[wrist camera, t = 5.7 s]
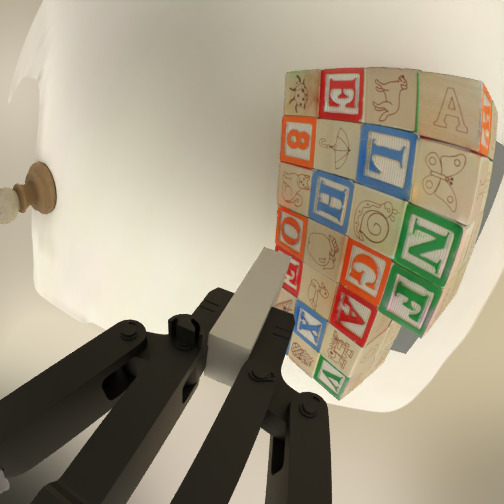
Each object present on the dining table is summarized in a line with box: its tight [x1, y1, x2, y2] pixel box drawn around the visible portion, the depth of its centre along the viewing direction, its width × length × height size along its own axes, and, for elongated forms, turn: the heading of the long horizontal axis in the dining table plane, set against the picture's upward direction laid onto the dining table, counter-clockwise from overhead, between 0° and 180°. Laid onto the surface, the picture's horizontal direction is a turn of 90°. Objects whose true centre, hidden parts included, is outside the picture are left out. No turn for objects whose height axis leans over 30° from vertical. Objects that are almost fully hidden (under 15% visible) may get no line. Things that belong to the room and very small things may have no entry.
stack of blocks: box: [275, 67, 498, 400], centre depth 17 cm, size 21×6×12 cm
